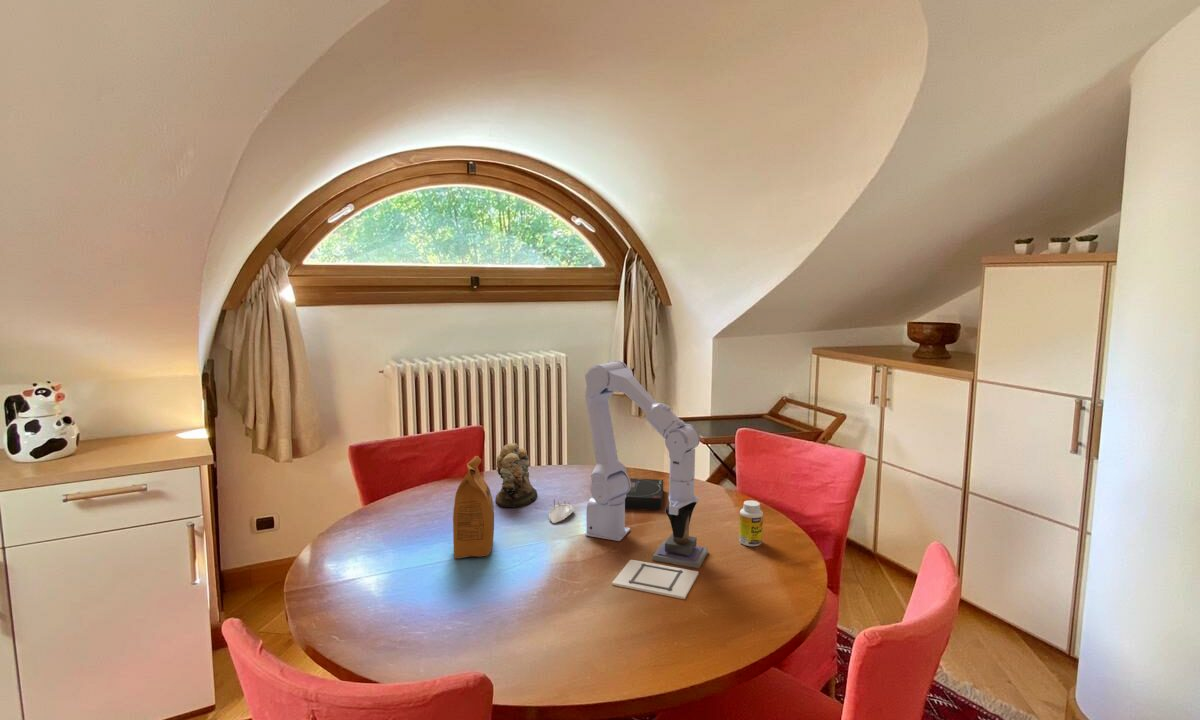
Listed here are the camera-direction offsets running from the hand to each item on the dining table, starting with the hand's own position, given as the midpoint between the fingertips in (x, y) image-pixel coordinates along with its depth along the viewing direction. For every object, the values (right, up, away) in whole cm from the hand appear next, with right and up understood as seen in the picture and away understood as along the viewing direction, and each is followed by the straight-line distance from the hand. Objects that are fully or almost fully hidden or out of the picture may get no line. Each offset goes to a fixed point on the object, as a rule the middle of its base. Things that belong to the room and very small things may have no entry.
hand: (680, 533), depth 149 cm
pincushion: (-30, -3, +25) cm, 39 cm away
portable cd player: (-9, -1, +39) cm, 40 cm away
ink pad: (0, -6, +1) cm, 6 cm away
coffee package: (-49, -5, +5) cm, 50 cm away
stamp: (0, -4, 0) cm, 4 cm away
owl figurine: (-44, -1, +39) cm, 58 cm away
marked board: (-7, -7, -10) cm, 14 cm away
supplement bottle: (+18, -5, +8) cm, 21 cm away
